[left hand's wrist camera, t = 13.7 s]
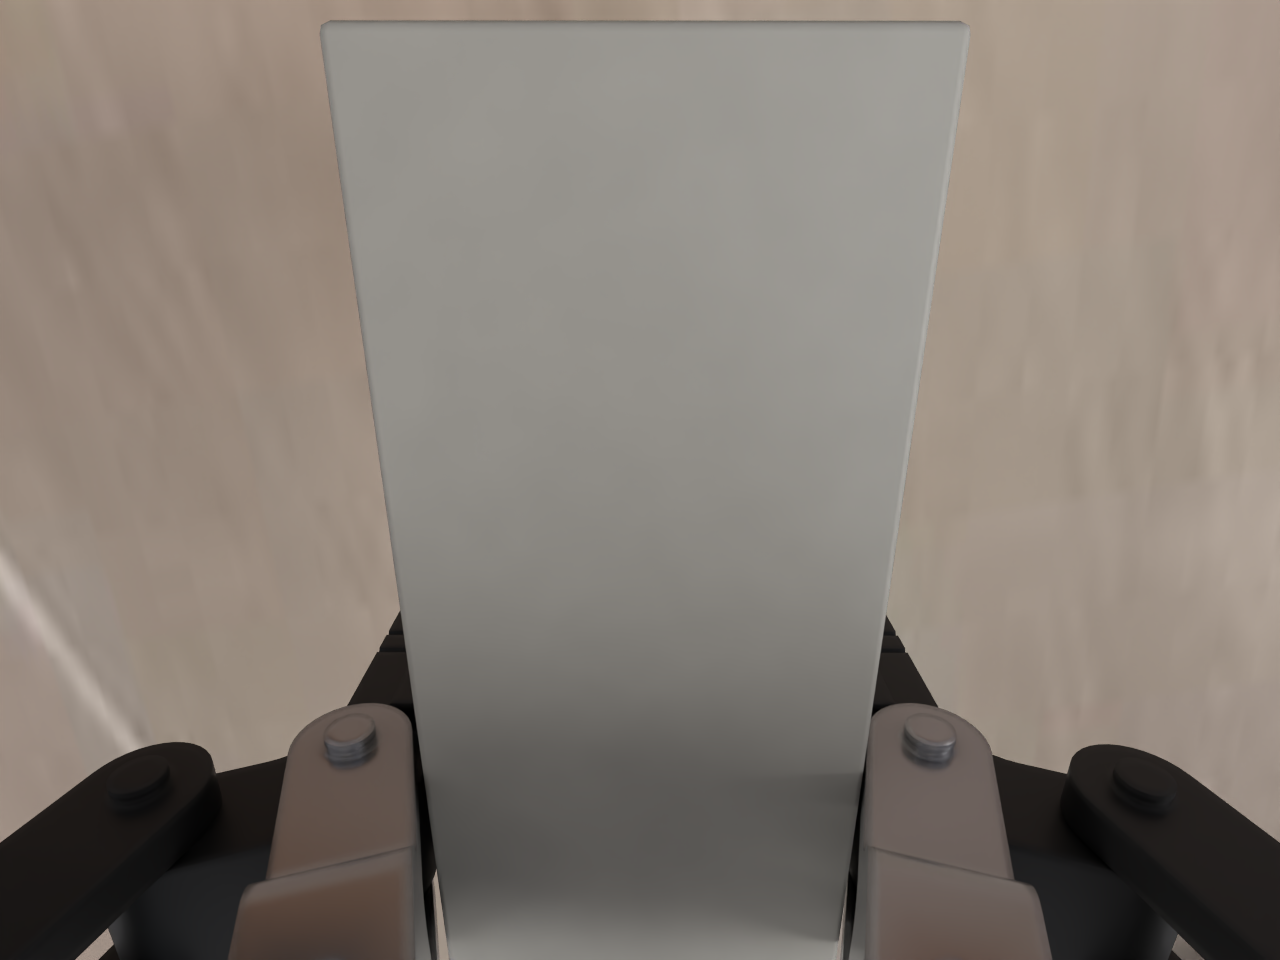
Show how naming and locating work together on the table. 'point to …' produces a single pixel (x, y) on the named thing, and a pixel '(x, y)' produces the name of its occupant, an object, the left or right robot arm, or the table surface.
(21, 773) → the table surface
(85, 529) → the table surface
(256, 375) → the table surface
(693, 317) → the bar
